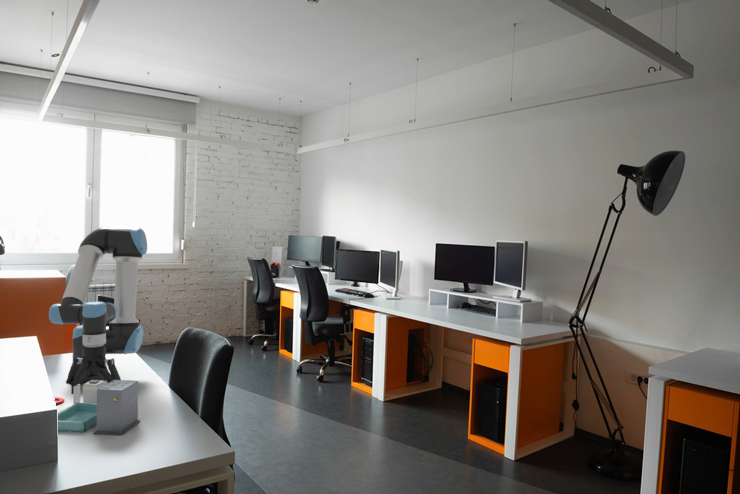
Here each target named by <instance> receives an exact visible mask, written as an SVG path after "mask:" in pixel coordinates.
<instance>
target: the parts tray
mask: <svg viewBox="0 0 740 494" xmlns="http://www.w3.org/2000/svg"><path fill="white" fill-rule="evenodd" d="M57 413H58V431H57V432H68V431H71V432H72V433H85V432H87V430H90V429H91V428H93V427H94V426H95V425H96V426H97V403H83V402H79V403H76V404H72V405H70V406H68V407H67V408H65V409H63V410H61V411H59V412H57Z"/></svg>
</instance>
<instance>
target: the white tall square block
mask: <svg viewBox="0 0 740 494" xmlns="http://www.w3.org/2000/svg"><path fill="white" fill-rule="evenodd" d="M104 385H106V380H102V381H99V380H91V381H89V382H87V383H85V384H83V385H82V403H97V389H98V388H100V387H102V386H104Z"/></svg>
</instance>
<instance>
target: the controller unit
mask: <svg viewBox="0 0 740 494" xmlns="http://www.w3.org/2000/svg"><path fill="white" fill-rule="evenodd" d="M138 389H139V381H138V380H126V379H124V380H123V379H121V380H113V381H111V382H109V383H108V382H107V383H105V385H104V386H102V387H100V388H98V389H97V424H96V429H95V430H94V431H93V435H107V436H110V435H111V436H123V435H125V434H126V433H127V432H129V431H130V430H132V428H134V427H135V426H137V425H138V424H140V422H141V419H138V418H139V417H138V415H139V414H138V411H139V410H138V409H139V407H138V405H139V402H138V401H139V399H138V397H139V395H138V394H139V390H138Z"/></svg>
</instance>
